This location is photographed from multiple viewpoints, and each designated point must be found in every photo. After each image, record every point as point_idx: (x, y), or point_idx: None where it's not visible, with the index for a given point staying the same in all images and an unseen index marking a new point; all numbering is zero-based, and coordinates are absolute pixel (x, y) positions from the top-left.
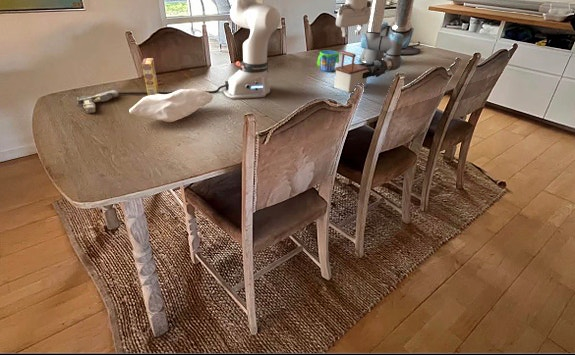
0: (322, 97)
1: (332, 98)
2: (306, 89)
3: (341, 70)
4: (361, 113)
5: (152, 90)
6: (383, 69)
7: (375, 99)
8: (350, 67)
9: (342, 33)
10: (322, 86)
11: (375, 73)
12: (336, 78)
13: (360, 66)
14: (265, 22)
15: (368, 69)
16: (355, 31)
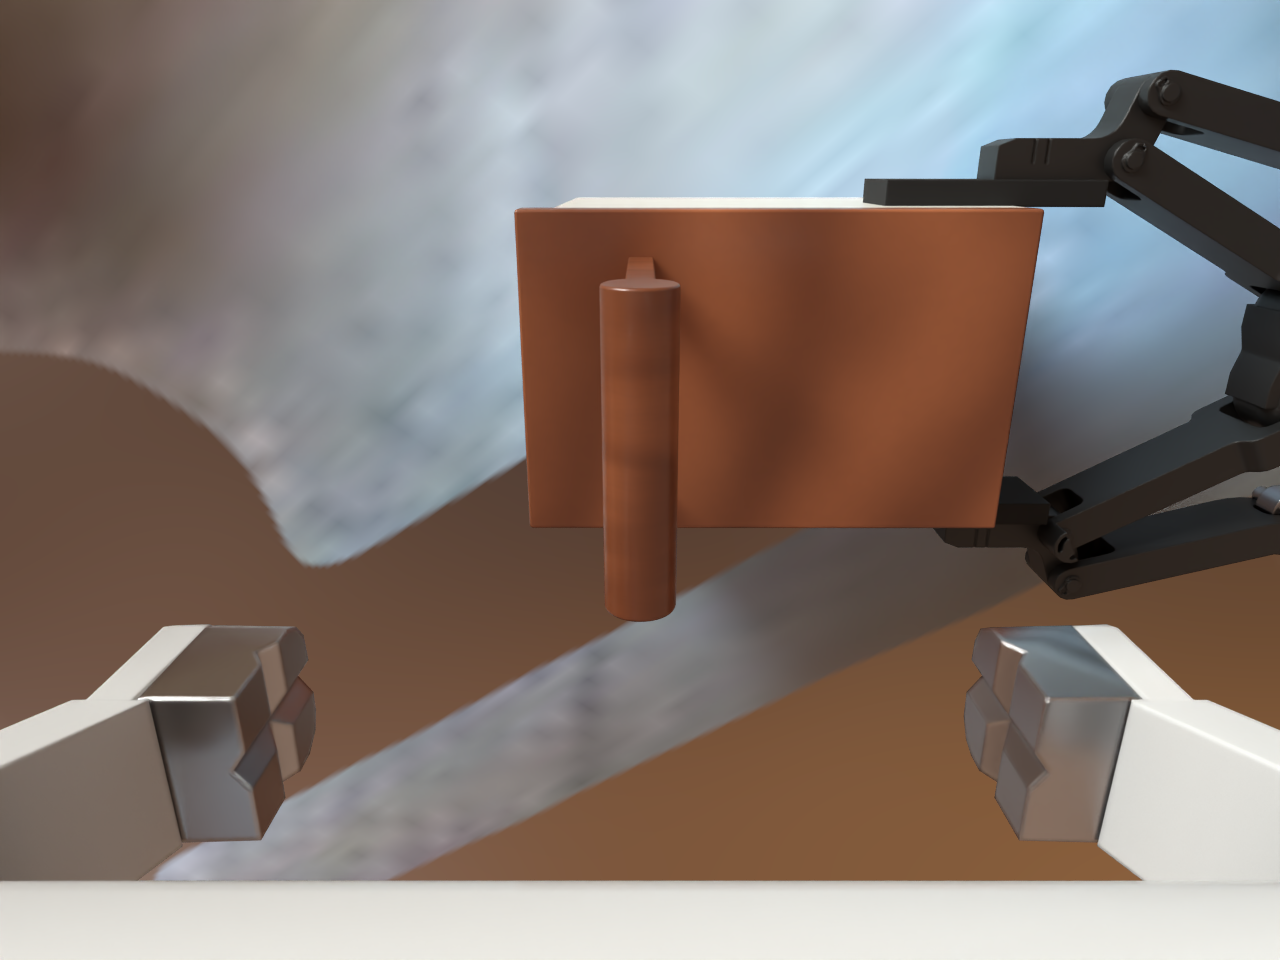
0: (204, 364)
1: (286, 451)
2: (191, 19)
3: (523, 362)
4: (274, 823)
5: None
6: (1271, 552)
7: (651, 713)
8: (756, 363)
9: (113, 687)
10: (469, 68)
11: (1040, 562)
12: None
13: (943, 422)
14: None
15: (1252, 307)
16: (1028, 683)
